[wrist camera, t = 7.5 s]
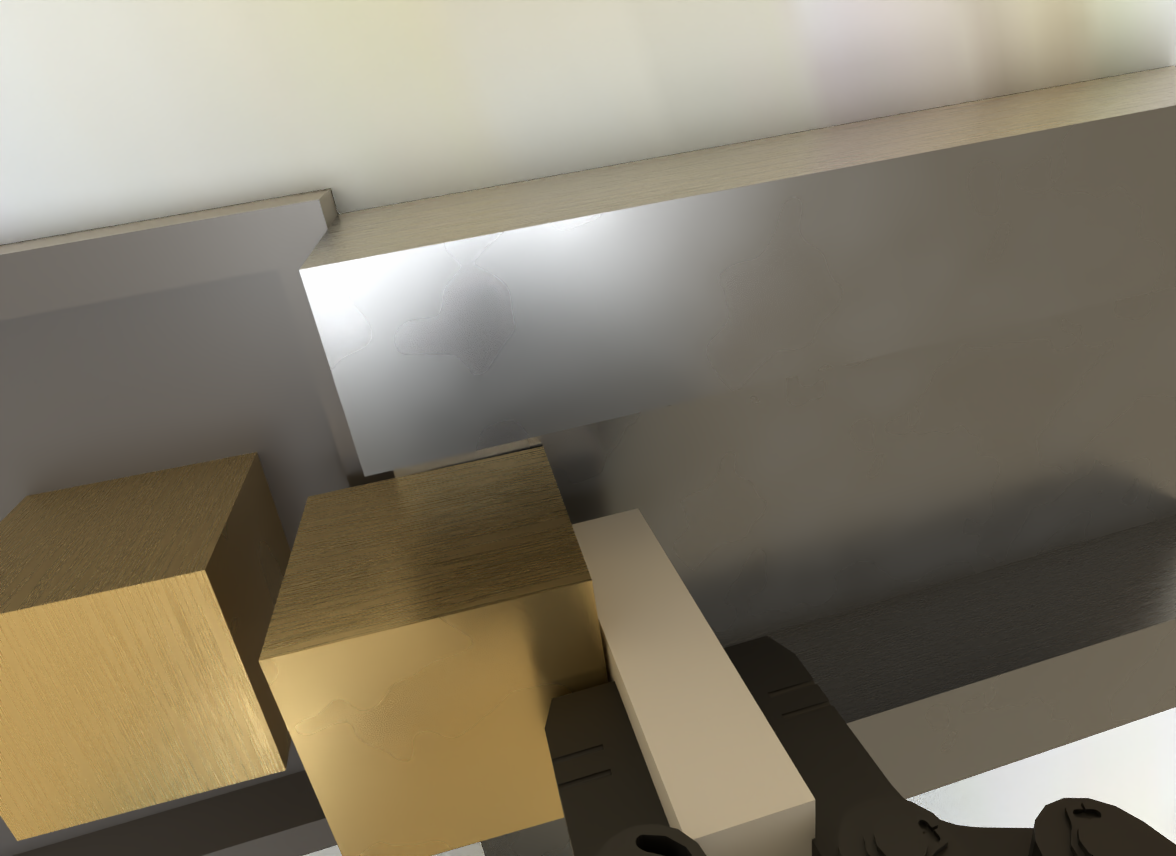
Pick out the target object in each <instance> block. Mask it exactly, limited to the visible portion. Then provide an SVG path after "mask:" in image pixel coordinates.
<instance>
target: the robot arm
mask: <svg viewBox="0 0 1176 856" xmlns="http://www.w3.org/2000/svg"><path fill="white" fill-rule="evenodd" d="M572 527H573V530H574V532H575V535H576V538H577V541H578V543H579V546H580V549H581V552H582V554H583V557H584V560H585V562H586V565H587V568H588V571H589V573H590V576H591V579H592V583H593V589H594V596H595V602H596V608H597V614H598V621H599V627H600V633H601V639H602V645H603V652H604V658H605V664H606V670H607V676H608V683H605V684H602V685H598V686H595V687H591V688H587V689H584V690H580V691H577V692H573V693H570V694H566V695H563V696H559V697H556V698H552V700H551V704H550V708H549V712H548V716H547V720H546V725H545V733H546V737H547V742H548V747H549V751H550V756H551V760H552V765H553V769H554V774H555V778H556V783H557V788H558V792H559V797H560V801H561V805H562V810H563V814H564V818H565V823H566V827H567V831H568V835H569V840H570V844H571V848H572V853H573V856H1176V845H1175V844H1174V843H1173V842H1171V841H1170V840H1168V839H1167V838H1166V837H1164V836H1163V835H1161V834H1160V833H1159V832H1157V831H1156V830H1154V829H1153V828H1152V827H1150V826H1149V825H1147V824H1146V823H1144V822H1143V821H1141V820H1139V819H1138V818H1136V817H1134V816H1132V815H1131V814H1129V813H1127V812H1125V811H1123V810H1122V809H1120V808H1118V807H1116V806H1113V805H1110V804H1106V803H1103V802H1099V801H1096V800H1093V799H1089V798H1063V799H1060V800H1058V801H1055V802H1053V803H1050V804H1048V805H1045V807H1044V808H1043V810H1042V811H1041V812H1040V814H1039V815H1038V817H1037V818H1036V820H1035V824H1034V828H983V827H969V826H960V825H955V824H952V823H948V822H945V821H942V820H940V819H939V818H938V817H937V816H935V815H934V814H933V813H932V812H930V811H928V810H926V809H924V808H922V807H920V806H918V805H917V804H915V803H913V802H911V801H907V800H906V799H904V798H903V797H902V796H901V795H900V793H899V792H898V791H897V790H896V789H895V788H894V787H893V786H892V785H891V783H890V782H889V781H888V779H887V778H886V777H885V775H884V774H883V772H882V771H881V770H880V768H879V767H878V766H877V764H876V763H875V762H874V760H873V759H872V758H871V756H870V755H869V754H868V752H867V751H866V749H865V748H864V747H863V745H862V744H861V743H860V741H859V740H858V739H857V737H856V736H855V735H854V733H853V732H852V730H851V729H850V728H849V726H848V725H847V724H846V722H845V721H844V720H843V718H842V717H841V716H840V714H839V713H838V711H837V710H836V709H835V707H834V706H831V705H830V702H829V699H828V698H827V697H826V695H825V694H824V692H823V691H822V690H821V688H820V687H819V686H818V684H815V683H814V679H813V678H812V676H811V675H810V673H809V672H808V671H807V669H806V668H805V667H804V665H803V664H802V663H801V661H800V660H799V659H798V657H797V656H796V655H795V653H793V652H791V651H790V650H788V649H787V648H785V647H784V646H782V645H781V644H779V643H778V642H776V641H775V640H773V639H772V638H770V637H768V636H763V637H760V638H756V639H753V640H749V641H746V642H742V643H739V644H735V645H732V646H728V647H725V648H723V647H722V645H721V644H720V642H719V641H718V639H717V637H716V636H715V634H714V632H713V631H712V629H711V627H710V626H709V624H708V622H707V621H706V619H705V618H704V616H703V614H702V613H701V611H700V609H699V608H698V606H697V604H696V603H695V601H694V599H693V598H692V596H691V595H690V593H689V591H688V590H687V588H686V586H685V585H684V583H683V581H682V580H681V578H680V576H679V575H678V573H677V572H676V570H675V568H674V567H673V565H672V563H671V562H670V560H669V558H668V557H667V555H666V553H665V552H664V550H663V549H662V547H661V545H660V544H659V542H658V540H657V539H656V537H655V535H654V534H653V532H652V530H651V529H650V527H649V526H648V524H647V522H646V521H645V519H644V517H643V516H642V514H641V512H640V511H639V509H638V508H637V509H633V510H629V511H625V512H621V513H617V514H613V515H609V516H605V517H601V518H597V519H593V520H589V521H584V522H580V523H576V524H572Z"/></svg>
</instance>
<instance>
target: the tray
mask: <svg viewBox="0 0 1176 856" xmlns="http://www.w3.org/2000/svg"><path fill="white" fill-rule="evenodd" d="M337 215H338V213H337V209H336V206H335V202H334V199H333V195H332V192H331V188H330V189H324V190H318V191H313V192H307V193H301V194H295V195H289V196H284V197H278V198H272V199H266V200H260V201H255V202H249V203H243V204H237V205H231V206H226V207H220V208H214V209H208V210H202V211H197V212H191V213H185V214H179V215H173V216H167V217H162V218H156V219H150V220H144V221H138V222H133V223H127V224H121V225H115V226H109V227H104V228H98V229H92V230H86V231H80V232H75V233H69V234H63V235H57V236H51V237H46V238H40V239H34V240H28V241H22V242H16V243H11V244H5V245H0V522H1V521H2V520H3V519H4V518H5V517H6V516H7V515H8V514H9V513H10V512H11V511H12V510H13V509H14V508H15V507H16V506H17V505H18V504H19V503H20V502H21V501H22V500H23V499H24V498H25V497H26V496H29V495H34V494H39V493H45V492H50V491H55V490H60V489H66V488H71V487H76V486H81V485H87V484H92V483H97V482H102V481H108V480H113V479H118V478H123V477H129V476H134V475H139V474H144V473H150V472H155V471H160V470H165V469H171V468H176V467H181V466H186V465H192V464H197V463H202V462H207V461H213V460H218V459H223V458H228V457H234V456H239V455H244V454H249V453H255V452H257V454H258V457H259V460H260V462H261V465H262V468H263V471H264V474H265V477H266V480H267V483H268V486H269V489H270V492H271V495H272V498H273V501H274V504H275V507H276V510H277V513H278V515H279V518H280V521H281V524H282V527H283V530H284V533H285V536H286V539H287V542H288V545H289V548H290V551H291V552H292V548H293V545H294V542H295V538H296V535H297V532H298V528H299V525H300V522H301V518H302V515H303V512H304V508H305V505H306V502H307V498H308V497H309V496H313V495H318V494H323V493H327V492H332V491H337V490H341V489H346V488H351V487H355V486H360V485H365V484H369V483H374V482H379V481H383V480H388V479H393V478H395V476H394V473H393V470H392V471H388V472H383V473H379V474H375V475H370V476H366V477H365V476H364V473H363V470H362V466H361V463H360V460H359V457H358V454H357V451H356V448H355V444H354V441H353V438H352V435H351V432H350V429H349V426H348V422H347V419H346V416H345V413H344V410H343V407H342V404H341V400H340V397H339V394H338V391H337V388H336V385H335V382H334V378H333V375H332V372H331V369H330V366H329V363H328V360H327V356H326V353H325V350H324V347H323V344H322V341H321V338H320V334H319V331H318V328H317V325H316V322H315V319H314V316H313V312H312V309H311V306H310V303H309V300H308V297H307V294H306V290H305V287H304V284H303V281H302V278H301V275H300V272H299V269H300V268H301V266H302V265H303V264H304V262H305V261H306V259H307V258H308V256H309V255H310V254H311V252H312V251H313V249H314V248H315V246H316V245H317V244H318V242H319V241H320V239H321V238H322V236H323V235H324V234H325V232H326V231H327V229H328V228H329V226H330V225H331V224H332V222H333V221H334V219H335V218H336V216H337ZM335 845H338V844H337V842H336V840H335V838H334V835H333V833H332V831H331V828H330V826H329V824H328V821H327V819H326V817H325V814H324V812H323V810H322V807H321V805H320V803H319V800H318V798H317V796H316V793H315V791H314V789H313V787H312V784H311V782H310V780H309V777H308V775H307V773H306V770H305V768H304V766H303V763H302V761H301V759H300V756H299V754H298V752H297V749H296V747H295V745H294V742H293V740H292V739H291V745H290V751H289V756H288V762H287V767H286V770H285V771H281V772H277V773H274V774H270V775H266V776H262V777H258V778H255V779H251V780H247V781H243V782H239V783H236V784H232V785H228V786H224V787H220V788H217V789H213V790H209V791H205V792H202V793H198V794H194V795H190V796H186V797H183V798H179V799H175V800H171V801H167V802H164V803H160V804H156V805H152V806H148V807H145V808H141V809H137V810H133V811H129V812H126V813H122V814H118V815H114V816H110V817H107V818H103V819H99V820H95V821H92V822H88V823H84V824H80V825H76V826H73V827H69V828H65V829H61V830H57V831H54V832H50V833H46V834H42V835H38V836H35V837H31V838H27V839H23V840H19V841H17V840H16V838H15V837H14V835H13V834H12V832H11V831H10V829H9V828H8V826H7V825H6V823H5V822H4V820H3V819H2V817H1V816H0V856H302V855H306V854H309V853H312V852H315V851H319V850H322V849H325V848H328V847H331V846H335Z"/></svg>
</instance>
